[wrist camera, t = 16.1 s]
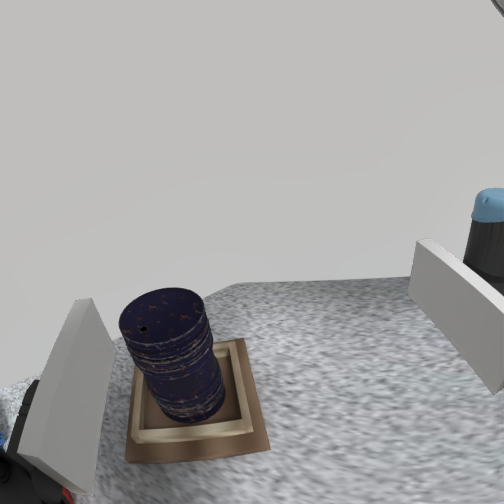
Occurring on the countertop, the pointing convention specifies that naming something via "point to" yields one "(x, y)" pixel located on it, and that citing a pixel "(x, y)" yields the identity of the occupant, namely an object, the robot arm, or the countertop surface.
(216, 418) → the base board
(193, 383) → the dark blue barrel
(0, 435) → the grapes
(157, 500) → the countertop surface
